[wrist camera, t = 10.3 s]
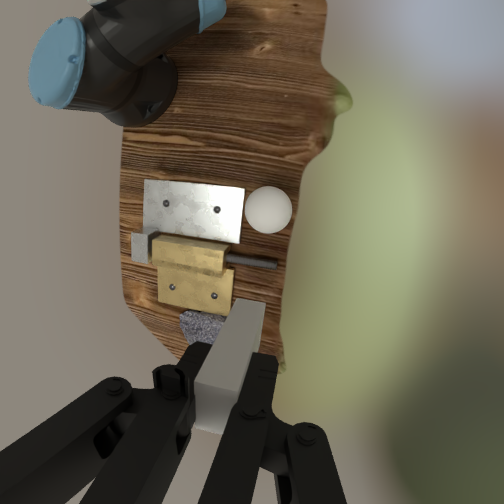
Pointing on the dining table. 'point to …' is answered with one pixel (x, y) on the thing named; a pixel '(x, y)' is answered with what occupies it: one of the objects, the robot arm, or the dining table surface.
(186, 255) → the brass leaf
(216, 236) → the zinc leaf
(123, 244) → the dining table surface
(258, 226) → the lightbulb
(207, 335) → the rock
